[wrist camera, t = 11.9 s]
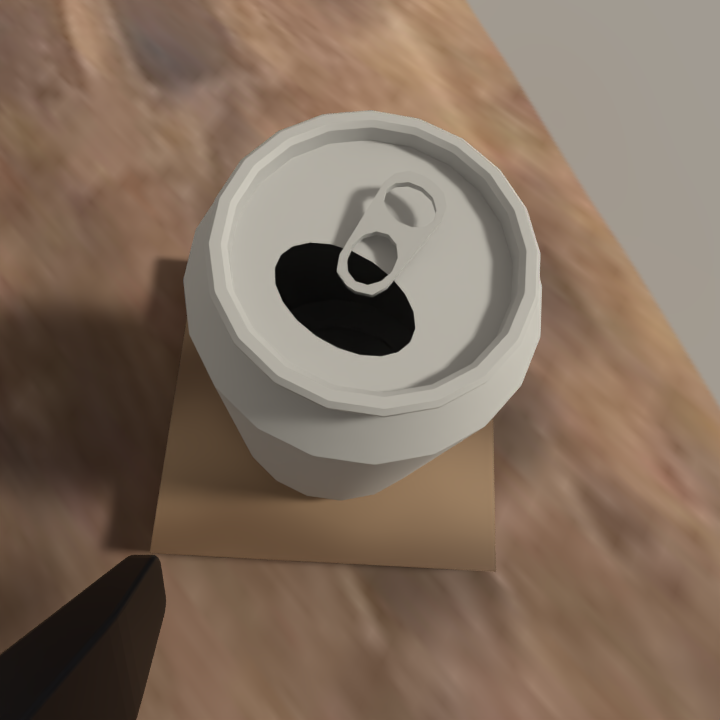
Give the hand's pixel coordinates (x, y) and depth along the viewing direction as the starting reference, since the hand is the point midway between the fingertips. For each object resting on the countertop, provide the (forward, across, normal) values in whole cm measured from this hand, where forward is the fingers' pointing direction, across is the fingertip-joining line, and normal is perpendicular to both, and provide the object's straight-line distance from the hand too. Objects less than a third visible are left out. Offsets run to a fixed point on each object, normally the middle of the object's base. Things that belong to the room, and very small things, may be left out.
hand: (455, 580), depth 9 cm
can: (+13, +2, +3) cm, 14 cm away
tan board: (+14, +2, +4) cm, 15 cm away
